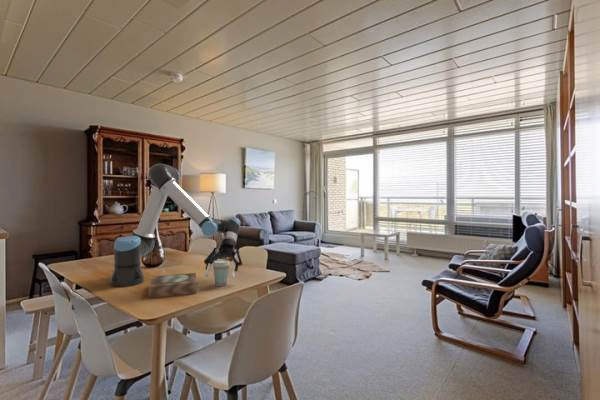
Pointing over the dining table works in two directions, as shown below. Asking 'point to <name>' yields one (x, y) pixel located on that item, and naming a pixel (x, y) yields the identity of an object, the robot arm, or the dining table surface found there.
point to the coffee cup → (221, 272)
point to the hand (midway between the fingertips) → (219, 276)
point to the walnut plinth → (173, 285)
